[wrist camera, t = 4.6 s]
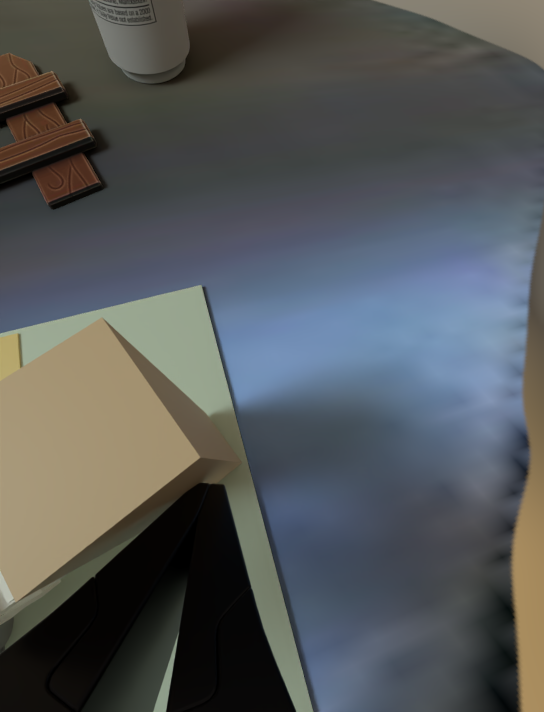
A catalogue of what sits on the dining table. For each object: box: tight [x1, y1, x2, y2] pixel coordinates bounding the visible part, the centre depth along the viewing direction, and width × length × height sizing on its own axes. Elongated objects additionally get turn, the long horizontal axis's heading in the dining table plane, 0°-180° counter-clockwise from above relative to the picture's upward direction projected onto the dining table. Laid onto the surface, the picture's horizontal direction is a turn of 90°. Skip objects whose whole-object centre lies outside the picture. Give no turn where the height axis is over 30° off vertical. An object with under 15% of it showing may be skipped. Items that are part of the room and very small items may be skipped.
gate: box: [0, 318, 242, 625], centre depth 10 cm, size 11×3×12 cm, turn 129°
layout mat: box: [0, 285, 313, 712], centre depth 15 cm, size 25×17×1 cm
